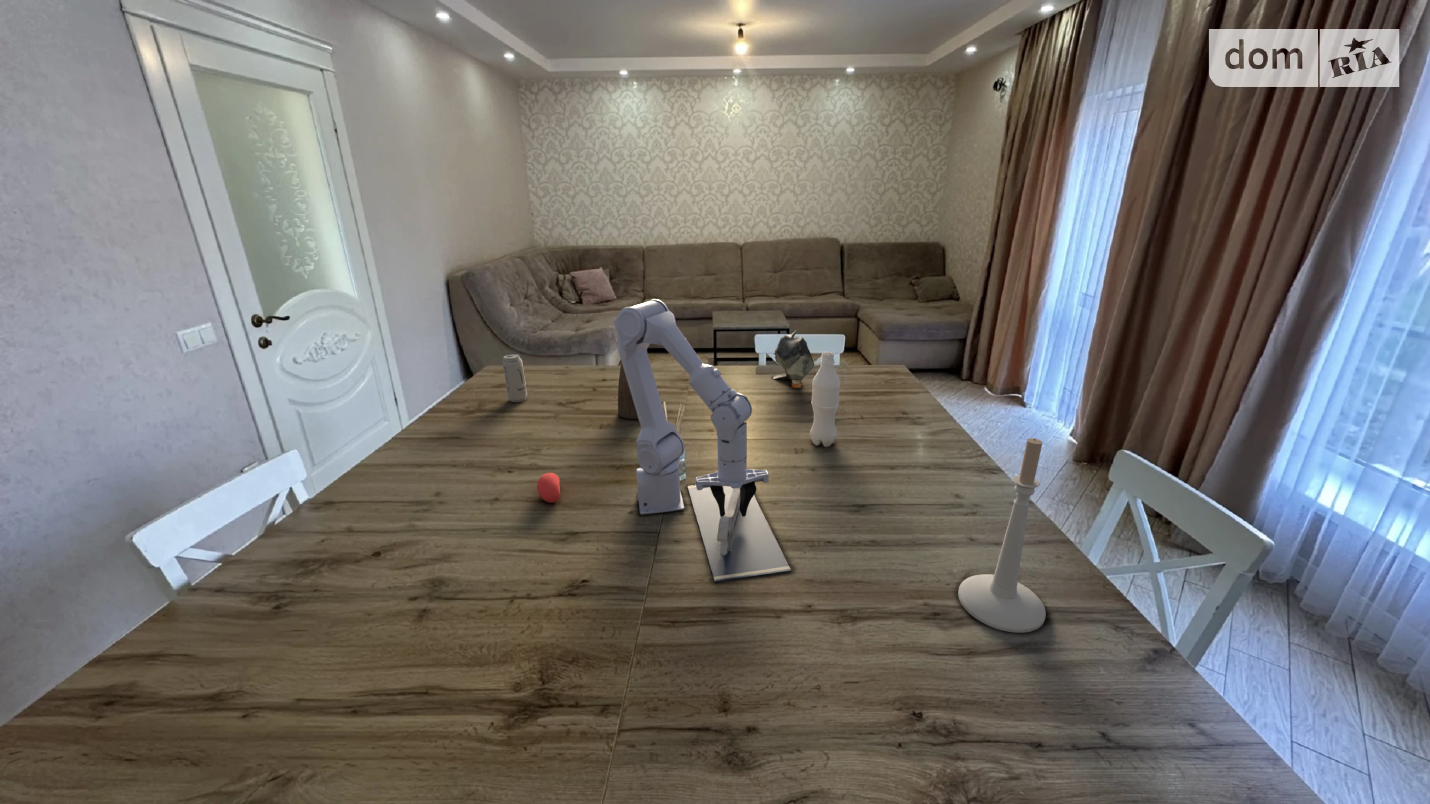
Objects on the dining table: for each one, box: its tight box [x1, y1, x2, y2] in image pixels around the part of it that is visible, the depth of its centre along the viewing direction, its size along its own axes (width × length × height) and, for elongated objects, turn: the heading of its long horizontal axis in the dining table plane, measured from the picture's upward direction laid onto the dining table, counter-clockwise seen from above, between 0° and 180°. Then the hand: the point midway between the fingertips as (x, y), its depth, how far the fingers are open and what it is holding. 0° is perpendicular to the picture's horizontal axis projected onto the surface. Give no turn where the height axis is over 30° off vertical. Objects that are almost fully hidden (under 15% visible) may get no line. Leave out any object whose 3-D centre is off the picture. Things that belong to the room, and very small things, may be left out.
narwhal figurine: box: [772, 329, 815, 389], centre depth 189 cm, size 14×15×18 cm
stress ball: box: [536, 472, 561, 504], centre depth 124 cm, size 5×9×6 cm, turn 4°
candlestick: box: [957, 437, 1047, 634], centre depth 85 cm, size 13×13×30 cm
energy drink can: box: [502, 353, 528, 403], centre depth 180 cm, size 6×6×15 cm
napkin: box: [687, 484, 792, 583], centre depth 113 cm, size 14×34×1 cm, turn 11°
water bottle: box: [809, 351, 841, 448], centre depth 144 cm, size 7×7×25 cm
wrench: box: [717, 488, 740, 556], centre depth 112 cm, size 8×2×30 cm
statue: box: [617, 362, 639, 420], centre depth 163 cm, size 9×8×25 cm
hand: (732, 515), depth 113 cm, fingers open, 4 cm apart
